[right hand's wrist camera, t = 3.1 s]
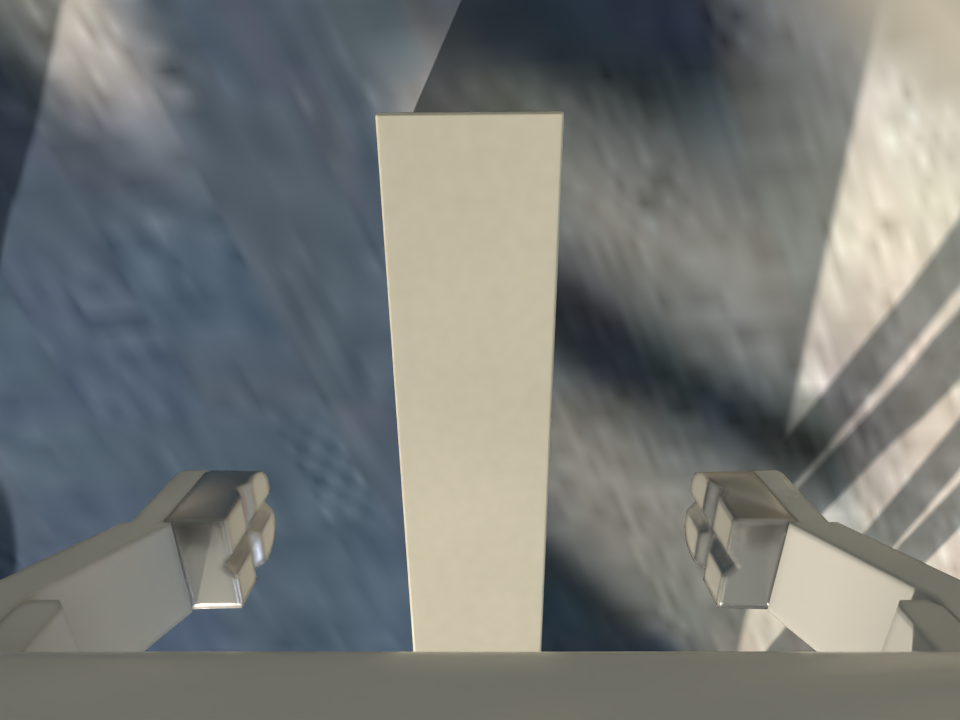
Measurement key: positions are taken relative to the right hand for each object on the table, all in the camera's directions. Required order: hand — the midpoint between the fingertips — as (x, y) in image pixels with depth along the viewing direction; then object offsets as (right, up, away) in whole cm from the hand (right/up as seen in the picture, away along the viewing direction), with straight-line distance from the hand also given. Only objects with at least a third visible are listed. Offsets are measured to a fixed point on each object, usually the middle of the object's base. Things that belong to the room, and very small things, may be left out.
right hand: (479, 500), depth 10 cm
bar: (0, -18, +23) cm, 29 cm away
